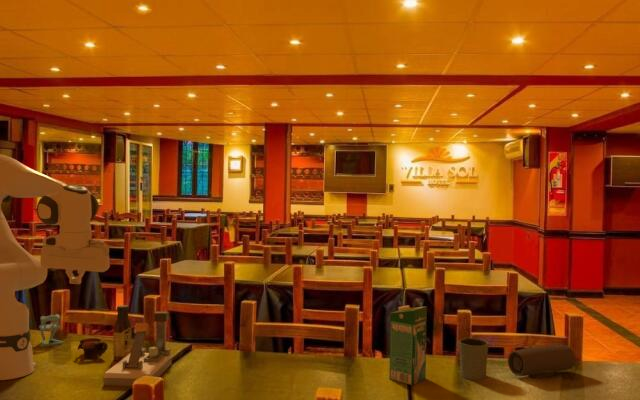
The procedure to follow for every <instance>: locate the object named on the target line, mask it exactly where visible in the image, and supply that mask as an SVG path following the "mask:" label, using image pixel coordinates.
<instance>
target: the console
mask: <svg viewBox="0 0 640 400" xmlns="http://www.w3.org/2000/svg"><path fill="white" fill-rule="evenodd" d="M166 350H167V355H163V354H158V357H157V358H149V352H145V353H144V354H143V355H140V359H139V368H138V369H136V368H126V363H128V362H129V358H130V354H131V353H130V354H129V355H127V356H126V357H125V358H123V359H122V360H121V361H117V363H116V364H114V365H113V366H112V367H110V368H109V369H108V370H106V371H105V372H104V377H103V386H118V387H120V386H121V387H133V386H132V384H133V382H134V381H135V380H136V379H138V378H140V377H142V376H146V375H148V376H157V377H158V378H160V376H162V374H164V373H165V372H166V370H168V368H170V367H171V365H172V363H173V362H172V353H171V348H170V347H169V348H166Z"/></svg>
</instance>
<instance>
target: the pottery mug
mask: <svg viewBox="0 0 640 400" xmlns="http://www.w3.org/2000/svg"><path fill="white" fill-rule="evenodd" d="M108 347H109V346H108V343H107V342H105V341H102V340H101V339H100V338H97V337H93V338H92V337H89V338H84V339H81V340H80V341H79V344H78V346H77V351H78V350H83V354H79V360H80V362H81V361H82V362H83V361H97V357H101V356H103V354H105V353H106V351H107V350H108Z"/></svg>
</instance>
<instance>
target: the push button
mask: <svg viewBox="0 0 640 400" xmlns="http://www.w3.org/2000/svg"><path fill="white" fill-rule="evenodd" d="M148 353H149V358H157V357H158V347H156V346H151V347H148Z"/></svg>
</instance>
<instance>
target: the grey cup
mask: <svg viewBox="0 0 640 400" xmlns="http://www.w3.org/2000/svg"><path fill="white" fill-rule="evenodd" d="M458 350H459V351H458V352H459V361H460V362H459V363H460V364H459V365H460V368H459V372H460V377H462V378H464V379H467V380H470V381H482V380H485V379H486V378H487V363H488V352H489V341H487V340H485V339H481V338H475V337H464V338H460V339H459V340H458Z"/></svg>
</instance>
